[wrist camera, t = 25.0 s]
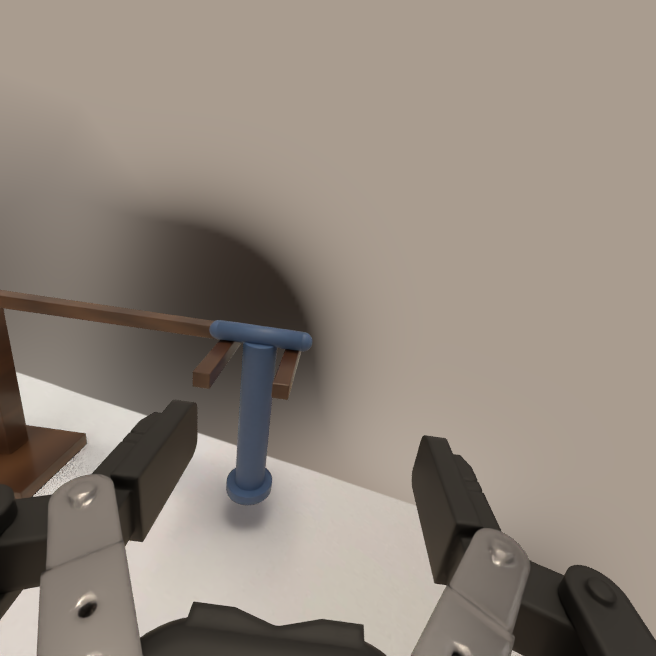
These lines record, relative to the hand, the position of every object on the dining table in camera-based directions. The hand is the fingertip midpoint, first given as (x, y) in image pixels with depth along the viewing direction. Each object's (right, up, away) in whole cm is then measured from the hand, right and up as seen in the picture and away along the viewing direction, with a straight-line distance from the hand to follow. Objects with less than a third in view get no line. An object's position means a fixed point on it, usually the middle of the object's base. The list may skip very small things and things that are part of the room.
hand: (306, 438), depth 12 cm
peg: (-7, -12, +23) cm, 27 cm away
